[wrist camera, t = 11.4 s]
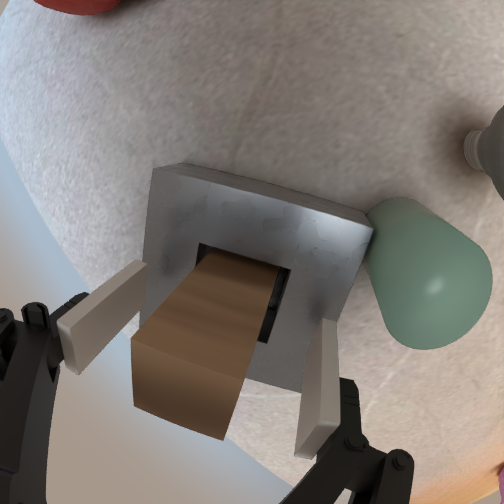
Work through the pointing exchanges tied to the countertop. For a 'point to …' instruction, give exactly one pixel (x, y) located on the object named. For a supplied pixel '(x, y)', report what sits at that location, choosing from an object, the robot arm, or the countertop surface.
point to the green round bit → (425, 275)
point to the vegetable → (79, 6)
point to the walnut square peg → (202, 342)
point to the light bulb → (488, 150)
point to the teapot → (501, 485)
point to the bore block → (256, 253)
